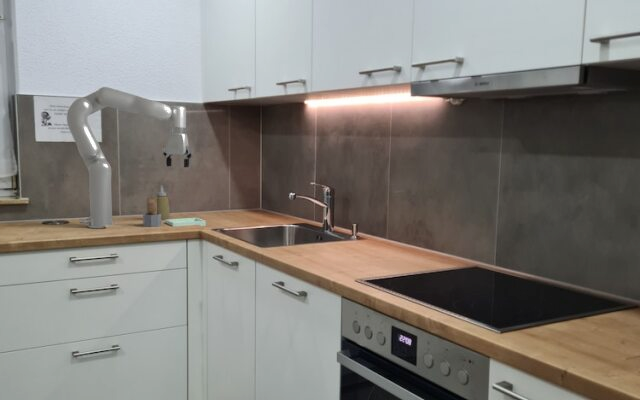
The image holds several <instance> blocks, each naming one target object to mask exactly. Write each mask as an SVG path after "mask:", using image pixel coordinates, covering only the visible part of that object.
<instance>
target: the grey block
mask: <svg viewBox="0 0 640 400" xmlns="http://www.w3.org/2000/svg"><path fill="white" fill-rule="evenodd" d="M142 227H143V228H144V227H145V228H158V227H162V220H161V214H160V213H157V215H147V212H146V213H143V214H142Z"/></svg>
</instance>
